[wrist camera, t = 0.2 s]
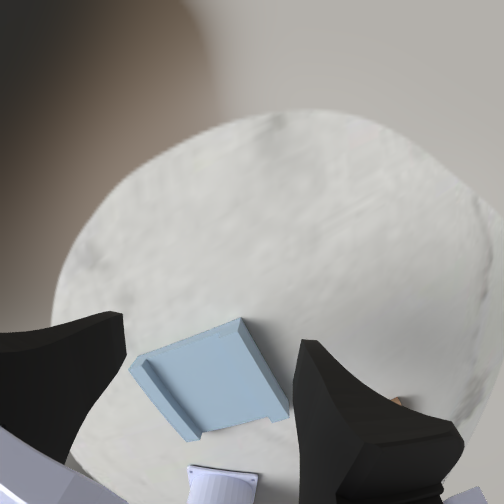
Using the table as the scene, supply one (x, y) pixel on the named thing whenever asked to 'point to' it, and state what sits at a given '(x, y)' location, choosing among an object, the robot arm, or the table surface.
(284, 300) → the table surface
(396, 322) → the table surface
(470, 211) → the table surface
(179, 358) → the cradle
